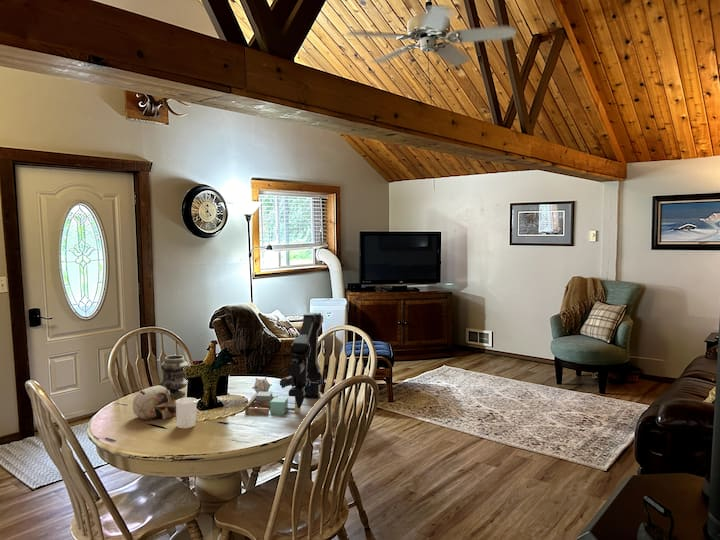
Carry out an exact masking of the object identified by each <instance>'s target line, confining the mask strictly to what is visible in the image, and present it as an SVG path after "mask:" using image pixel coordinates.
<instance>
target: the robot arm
mask: <svg viewBox="0 0 720 540" xmlns="http://www.w3.org/2000/svg"><path fill="white" fill-rule="evenodd" d="M323 323H324V315H323V314H322V313H321V312H307V313H304V314H303V320H302V325H301V327H300V331H299V335H298V336H297V337H295V338H294V340H293V341H292V343H291V346H290V349H289V350H290V351H289V356H288V360H291V363H289V364H288V366H287V368H286V371H287V374H288V375H289V376H286V377H282V378H281V379H280V380H279V386H280V387H281V388H282V389H284V388H287V387H289V386H291V388H290V389H289V391H288V396H289V397H294V400H295V399H296V403H297V407H298V408H300V407H302V405H303V403H304V401H305V397H308V398H307V399H319V397H320V395H321V393H320V386H321V385H324V384H323V382H324V380H323V375H322V372H321V367H320V365H319V364H318V349H319V347H318V346H319V345H318V344H319V331H320V330H321V328H322V327H323V326H322V325H323Z"/></svg>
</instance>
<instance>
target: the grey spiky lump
mask: <svg viewBox="0 0 720 540" xmlns="http://www.w3.org/2000/svg"><path fill="white" fill-rule="evenodd" d="M271 386H273V384H270V382H269V381H268V380H267V376H265V377H264V378H255V383H254V386H253V387H251V389H254V391H255V392H256V393H258V392H269V390H270V388H271Z"/></svg>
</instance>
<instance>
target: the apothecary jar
mask: <svg viewBox="0 0 720 540" xmlns="http://www.w3.org/2000/svg"><path fill="white" fill-rule="evenodd" d="M188 365H189V363H188V361H186V359H185V356H184V355H182V354H171V355H167V356H165V357H164V361H162V363H161V365H160V367H161V369H162V370H163V377H162V380H161V381H160V385H159V386H163V387H165V388H166V389H167V390H168V391H170V393H171V394H172V397H173V398H174V399H175V398H182V397H183V396H185V395H186V392H185V391H182V389H184V388H186V387H187V385H188V384H187V381H188V379H187V378H186V377H185V378H186V379H187V380H186V379H185V378H184V372H183V368H184V367H185V366H187V367H188Z"/></svg>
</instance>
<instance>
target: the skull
mask: <svg viewBox="0 0 720 540" xmlns="http://www.w3.org/2000/svg"><path fill="white" fill-rule="evenodd" d="M176 400H177V399H175V398H173V397H172V394H171V393H170V391H169V390H167V389H166V388H165V387H163V386H161V385H154V386H149V387H146V388H143V389H141V390H140V391H139V392H138V393H136V395H135V397H134V398H133V402H132V410H133V414H134V415H135V416H136V417H138V418H139V419H140V420H143V421H144V420H145V421H147V420H148V421H150V420H154V419H158V418H161V419H162V420H167V419H171V418H174V417H175V418H176Z"/></svg>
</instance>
